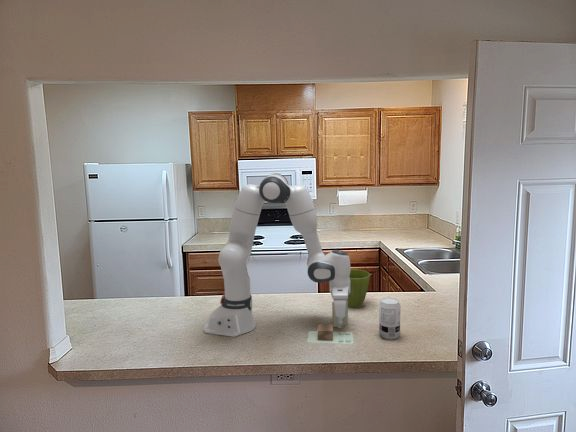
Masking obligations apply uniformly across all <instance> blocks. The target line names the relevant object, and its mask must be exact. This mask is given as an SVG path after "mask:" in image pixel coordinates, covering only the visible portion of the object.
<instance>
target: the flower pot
mask: <svg viewBox="0 0 576 432" xmlns="http://www.w3.org/2000/svg"><path fill="white" fill-rule="evenodd" d="M370 277H371V274H370V272H369V271H366V270H362V269H350V291H351V292H350V293H349V296H348V299H347V300H348V308H352V309H353V308H354V309H357V308H361V307H362V306H363V305H364V302H365V299H366V296H367V293H368V290H369V283H370Z"/></svg>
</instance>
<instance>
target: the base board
mask: <svg viewBox="0 0 576 432" xmlns="http://www.w3.org/2000/svg"><path fill="white" fill-rule="evenodd" d="M307 343H314V344H343V345H344V344H345V345H346V344H348V345H353V344H354V334H353V331H341V330H339V331H333V341H325V340H318V330H308V335H307Z"/></svg>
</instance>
